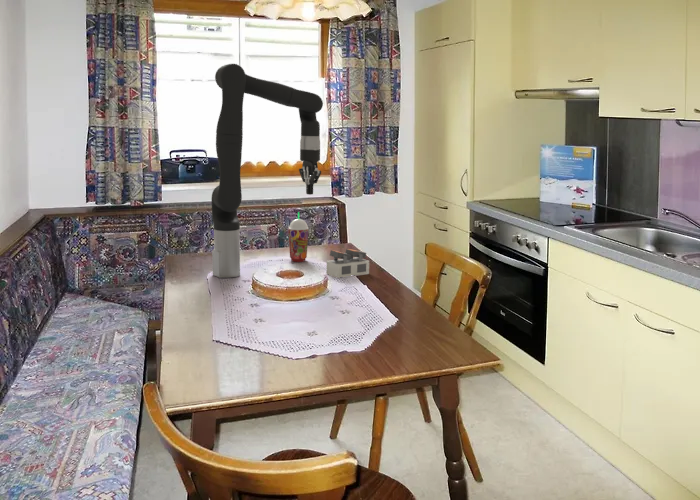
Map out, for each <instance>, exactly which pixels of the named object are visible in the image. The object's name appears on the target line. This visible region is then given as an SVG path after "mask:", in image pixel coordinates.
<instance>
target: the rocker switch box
mask: <svg viewBox="0 0 700 500" xmlns="http://www.w3.org/2000/svg"><path fill="white" fill-rule="evenodd" d="M362 256H363V255H362V254H361V255H359V257H353V256H351V258H350V260H347V256H344V257H343V259H340V258H336V257H333V259H332V260H326V267H325V268H326V273H327V274H326V273H325V274H326V275H328V274H329V275H328V276H331V275H332V276H331V277H334V278H336V277H337V279H341V278H340V277H343V278H347V277H346V276H351V275H355V276H354V277H357V276H363V275H364V276H365V275H370V260H368V259H366V258H362ZM351 277H352V276H351Z"/></svg>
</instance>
